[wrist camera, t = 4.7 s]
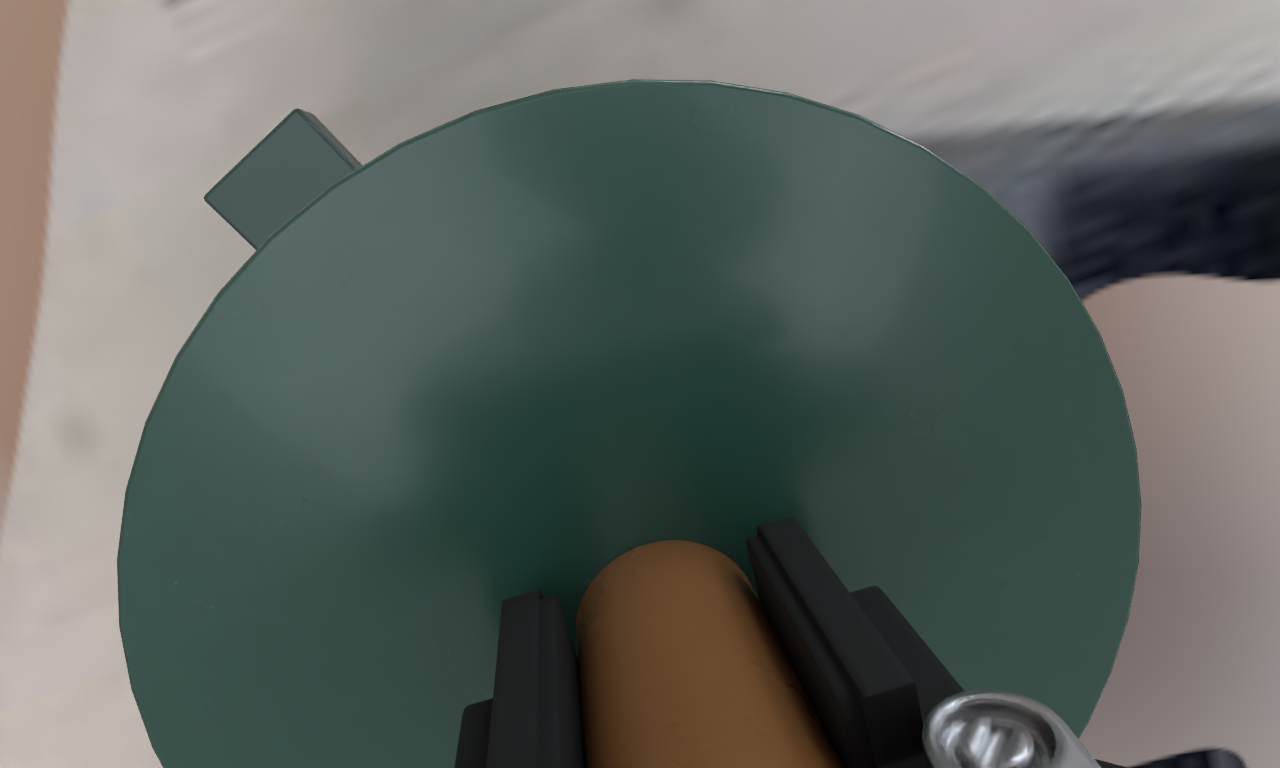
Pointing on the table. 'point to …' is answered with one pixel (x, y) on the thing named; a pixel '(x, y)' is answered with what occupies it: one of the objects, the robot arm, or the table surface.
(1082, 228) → the table surface
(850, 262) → the lid
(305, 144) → the pot
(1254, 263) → the table surface
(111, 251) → the table surface
